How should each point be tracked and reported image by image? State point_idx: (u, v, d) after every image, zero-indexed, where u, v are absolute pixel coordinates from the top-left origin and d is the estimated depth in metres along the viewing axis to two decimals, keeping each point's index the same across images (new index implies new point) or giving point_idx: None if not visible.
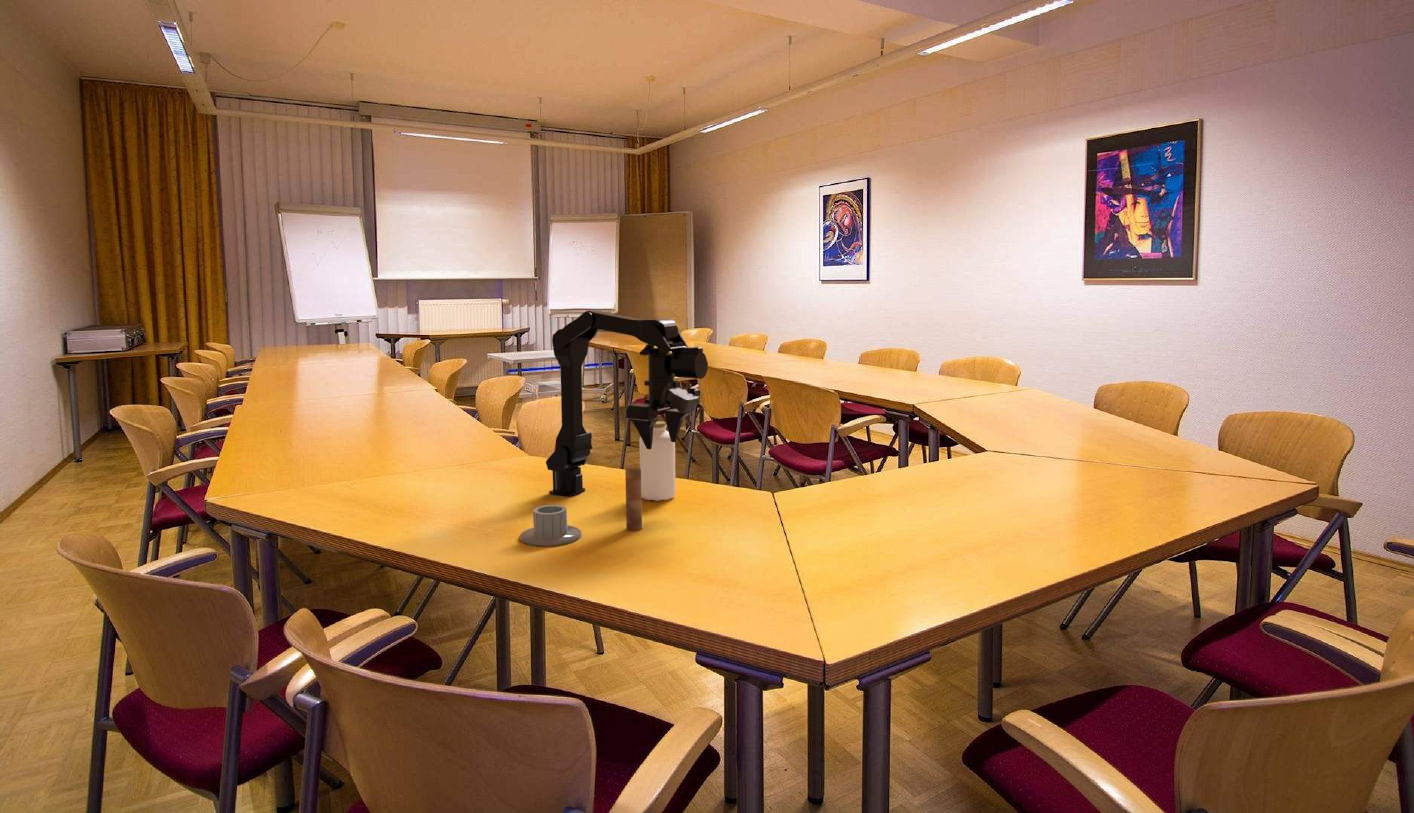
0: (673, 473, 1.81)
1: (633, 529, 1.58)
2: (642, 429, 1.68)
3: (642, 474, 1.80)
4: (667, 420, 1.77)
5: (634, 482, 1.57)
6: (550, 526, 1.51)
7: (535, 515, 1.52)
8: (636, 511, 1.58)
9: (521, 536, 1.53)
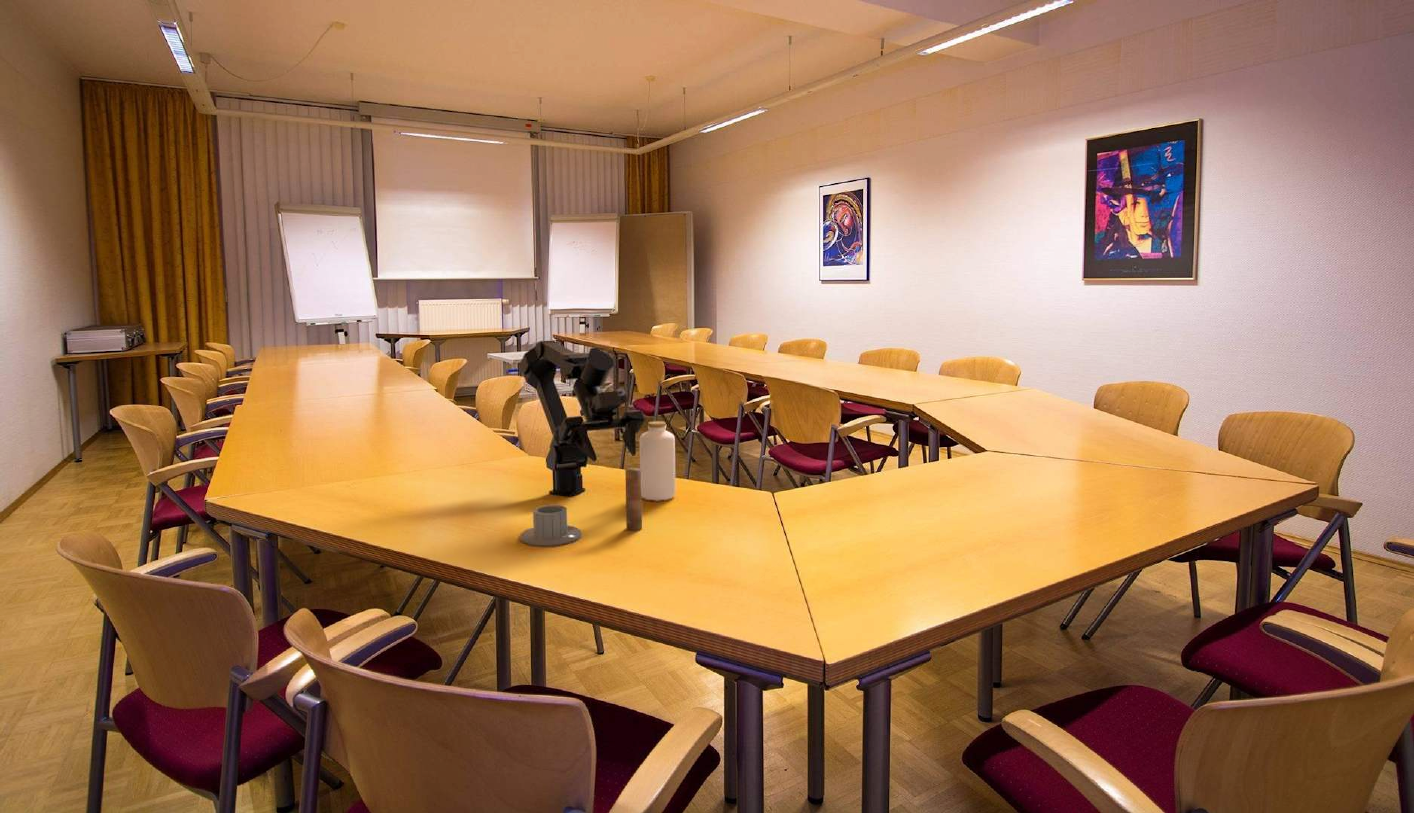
0: (673, 473, 1.81)
1: (633, 529, 1.58)
2: (582, 445, 1.64)
3: (642, 474, 1.80)
4: (625, 441, 1.71)
5: (634, 482, 1.57)
6: (550, 526, 1.51)
7: (535, 515, 1.52)
8: (636, 511, 1.58)
9: (521, 536, 1.53)
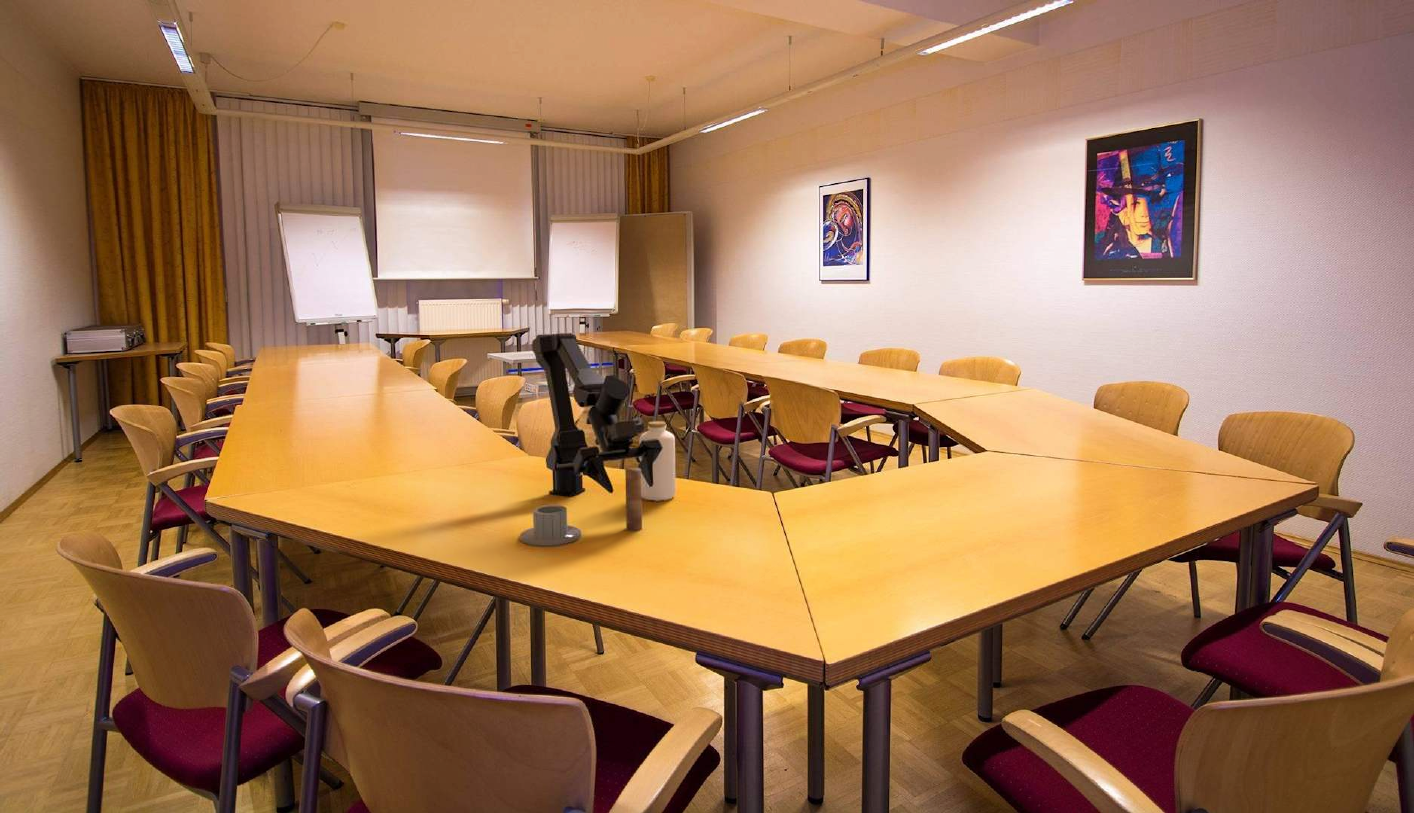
0: (673, 473, 1.81)
1: (633, 529, 1.58)
2: (598, 477, 1.58)
3: None
4: (642, 471, 1.65)
5: (634, 482, 1.57)
6: (550, 526, 1.51)
7: (535, 515, 1.52)
8: (636, 511, 1.58)
9: (521, 536, 1.53)
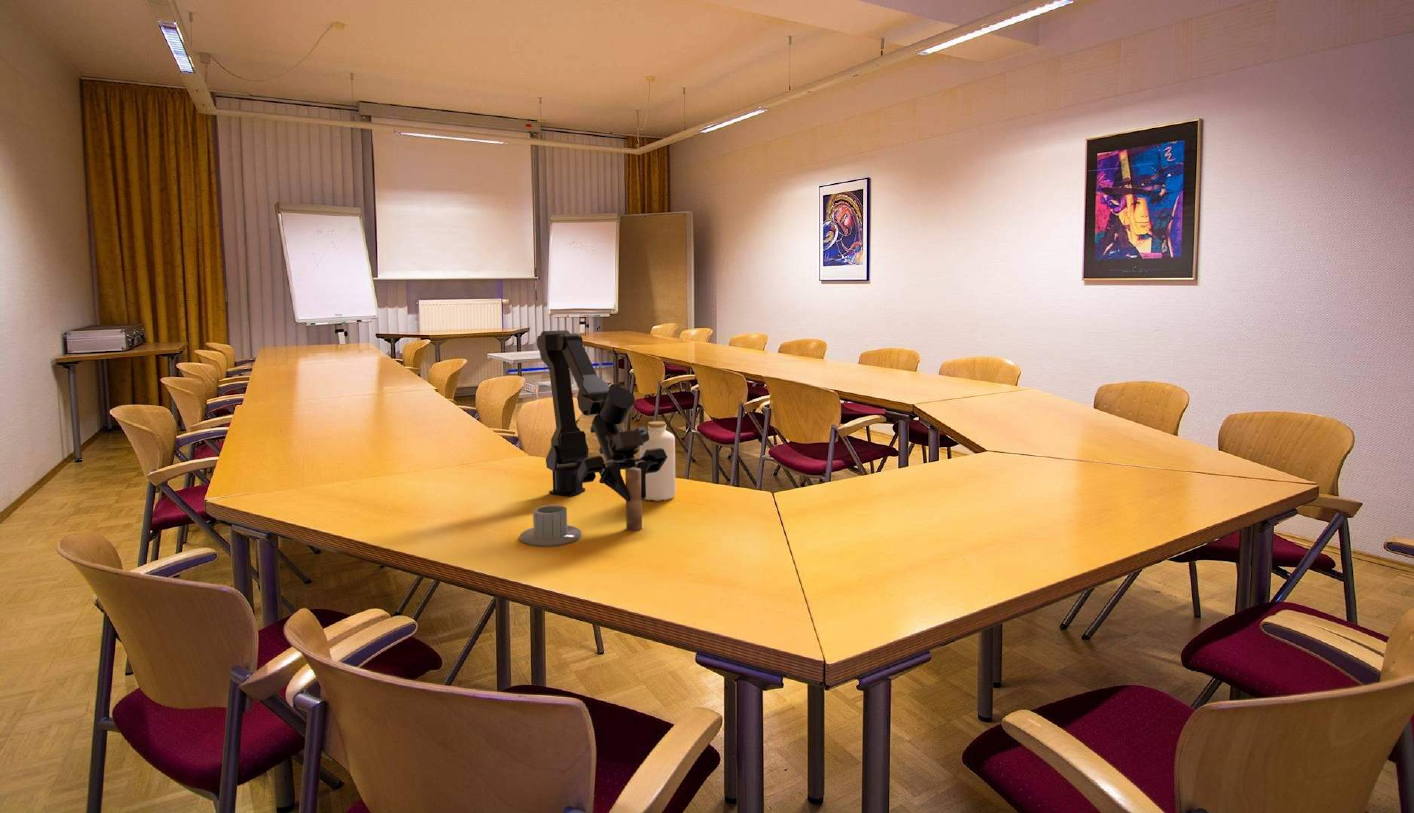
0: (673, 473, 1.81)
1: (633, 529, 1.58)
2: (615, 485, 1.59)
3: None
4: None
5: (633, 482, 1.57)
6: (550, 526, 1.51)
7: (535, 515, 1.52)
8: (636, 511, 1.58)
9: (521, 536, 1.53)
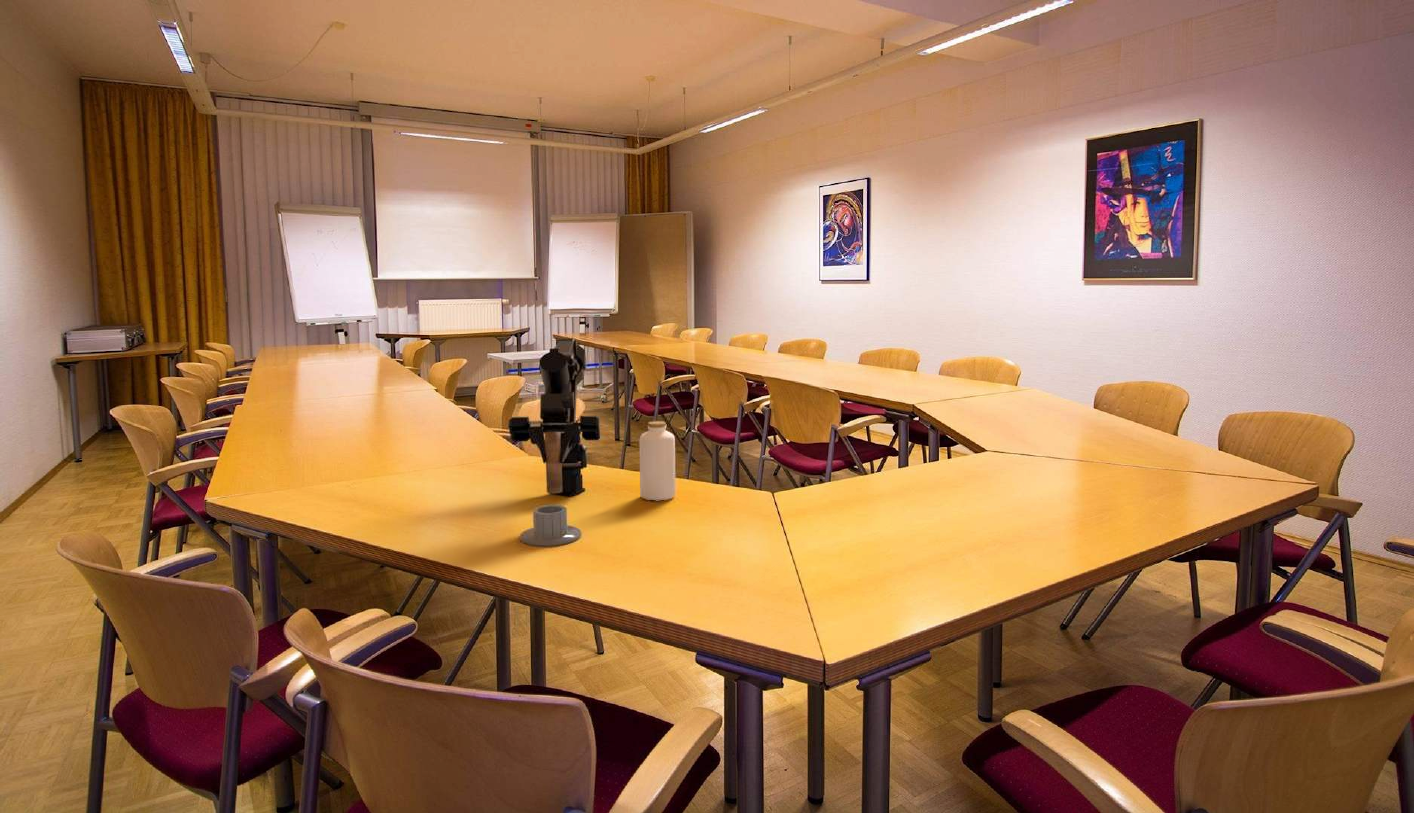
0: (673, 473, 1.81)
1: (549, 491, 1.60)
2: None
3: (642, 474, 1.80)
4: None
5: (549, 444, 1.59)
6: (550, 526, 1.51)
7: (535, 515, 1.52)
8: (551, 473, 1.59)
9: (521, 536, 1.53)
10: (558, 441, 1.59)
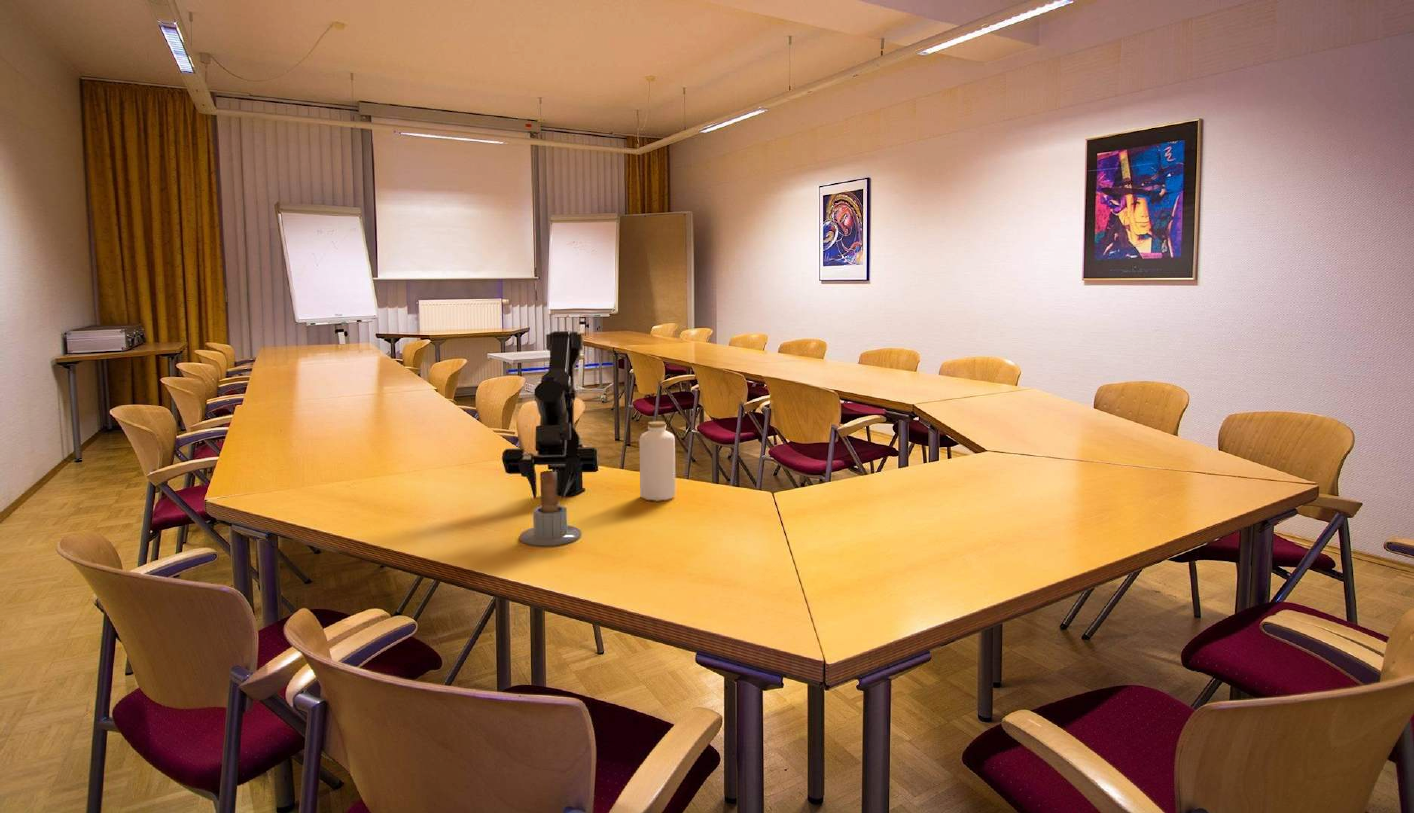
0: (673, 473, 1.81)
1: None
2: None
3: (642, 474, 1.80)
4: None
5: (544, 485, 1.51)
6: (550, 526, 1.51)
7: (535, 515, 1.52)
8: None
9: (521, 536, 1.53)
10: (554, 482, 1.52)
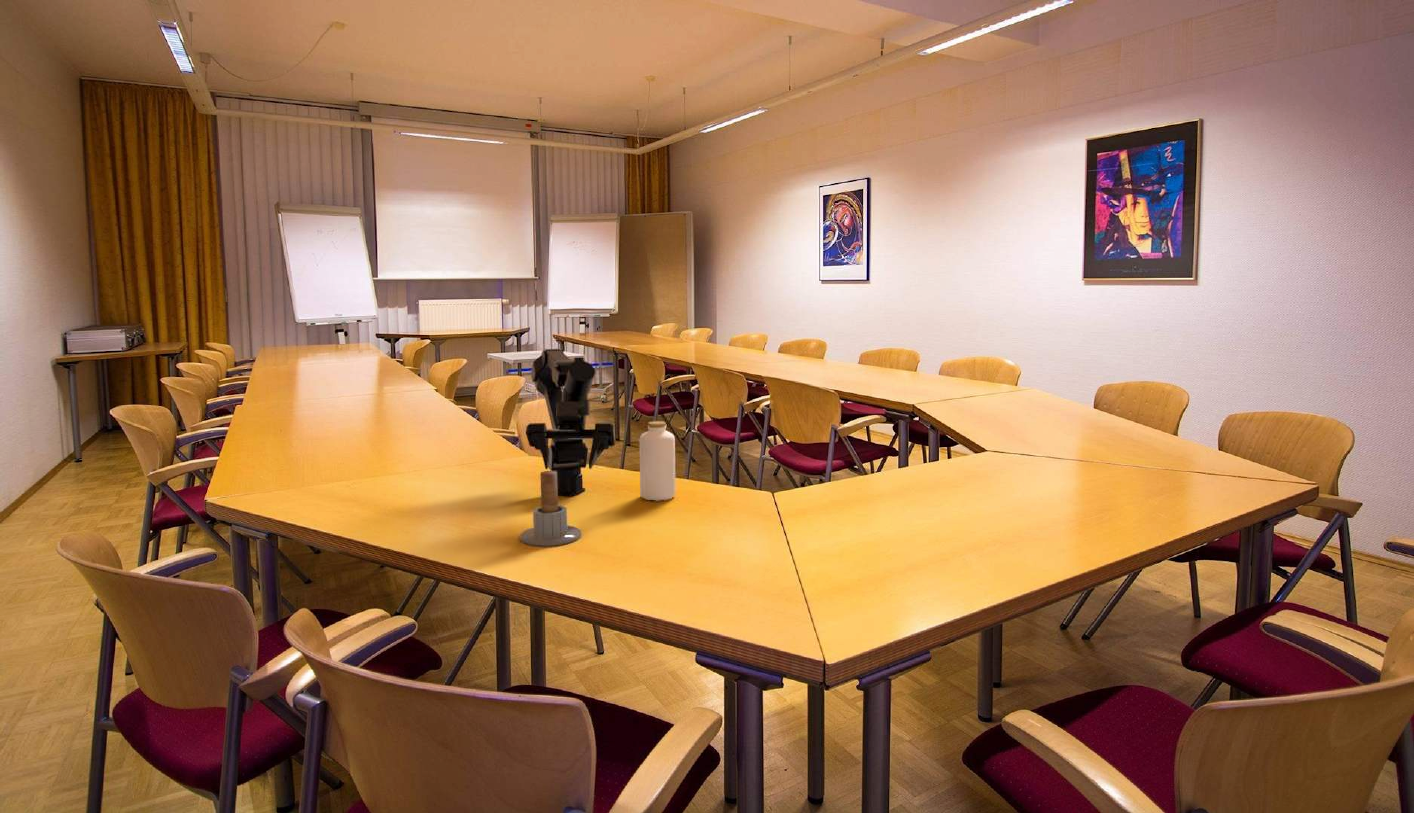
0: (673, 473, 1.81)
1: None
2: None
3: (642, 474, 1.80)
4: None
5: (544, 485, 1.51)
6: (550, 526, 1.51)
7: (535, 515, 1.52)
8: None
9: (521, 536, 1.53)
10: (554, 482, 1.52)
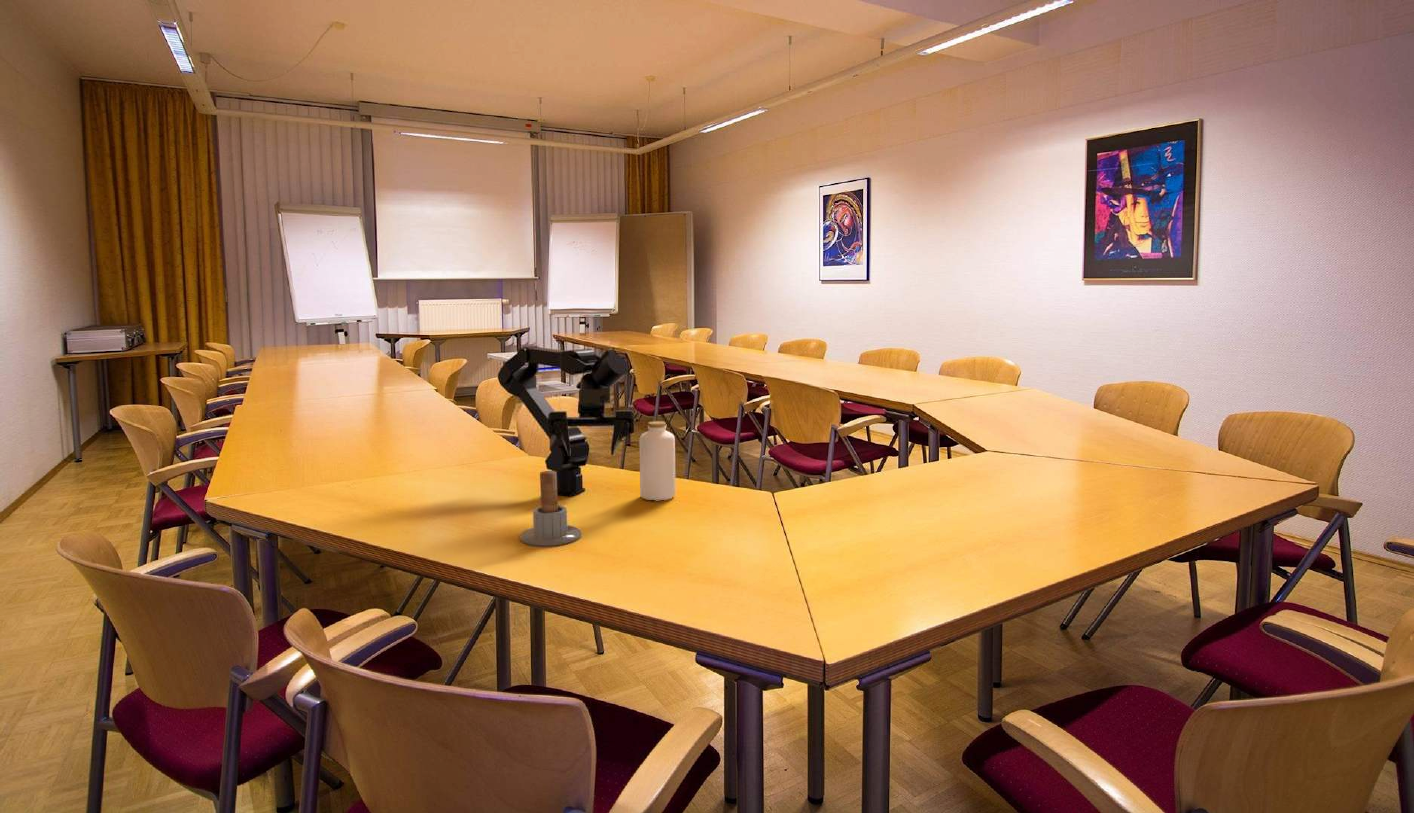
0: (673, 473, 1.81)
1: None
2: None
3: (642, 474, 1.80)
4: None
5: (544, 485, 1.51)
6: (550, 526, 1.51)
7: (535, 515, 1.52)
8: None
9: (521, 536, 1.53)
10: (554, 482, 1.52)
